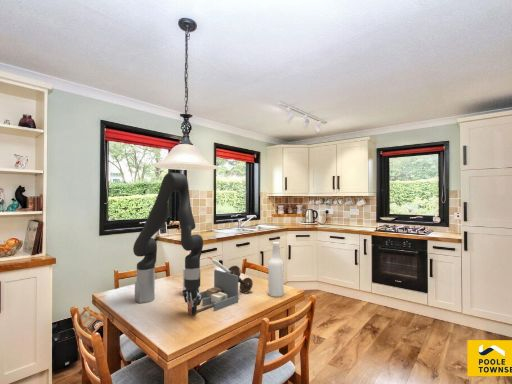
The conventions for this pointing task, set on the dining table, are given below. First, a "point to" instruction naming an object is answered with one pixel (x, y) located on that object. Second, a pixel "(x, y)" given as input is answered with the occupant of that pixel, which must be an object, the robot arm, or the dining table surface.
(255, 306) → the dining table surface
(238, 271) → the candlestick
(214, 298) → the corded block
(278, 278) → the alcohol
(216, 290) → the walnut block
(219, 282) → the lane rack
